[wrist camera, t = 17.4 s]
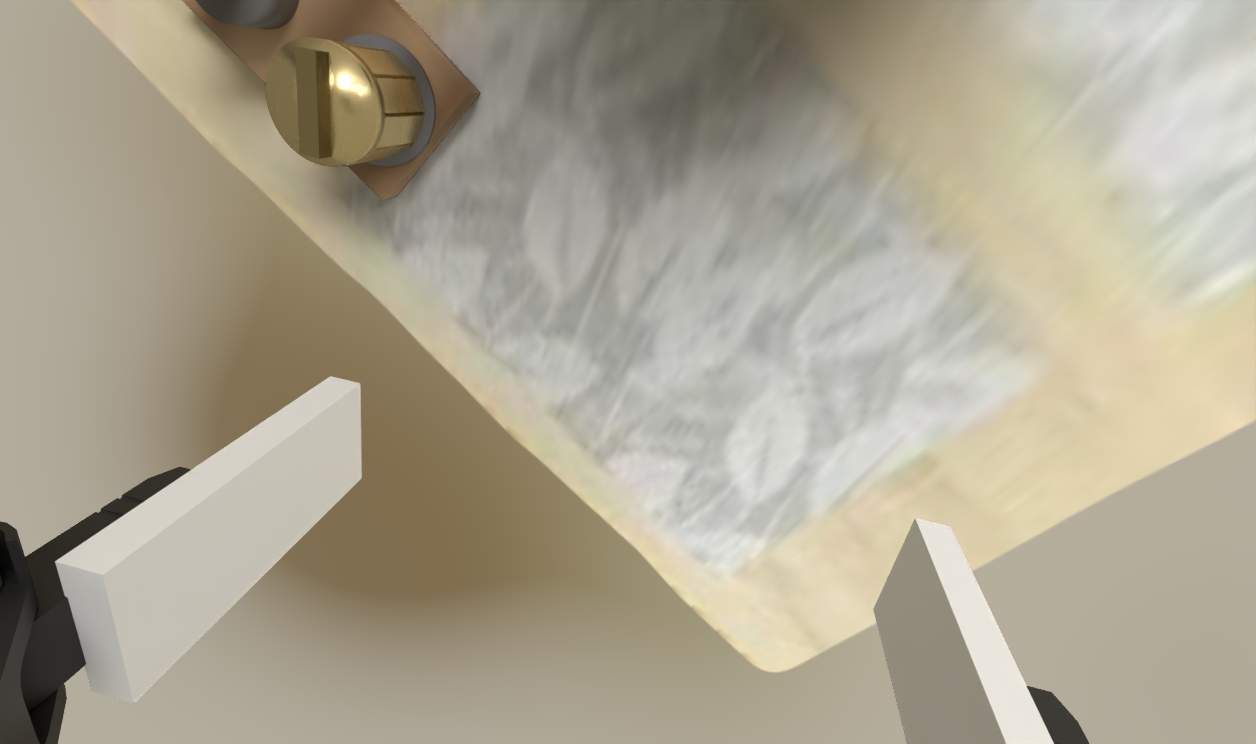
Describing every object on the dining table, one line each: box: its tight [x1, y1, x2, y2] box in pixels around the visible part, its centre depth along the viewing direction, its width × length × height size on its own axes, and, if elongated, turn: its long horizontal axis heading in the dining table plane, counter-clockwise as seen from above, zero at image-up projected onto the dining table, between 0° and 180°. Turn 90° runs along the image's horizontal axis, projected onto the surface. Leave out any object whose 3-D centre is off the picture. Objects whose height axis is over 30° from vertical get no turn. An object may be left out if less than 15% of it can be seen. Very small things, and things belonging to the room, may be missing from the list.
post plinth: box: [182, 0, 480, 201], centre depth 38 cm, size 18×10×10 cm, turn 44°
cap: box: [266, 37, 425, 166], centre depth 38 cm, size 7×7×7 cm
